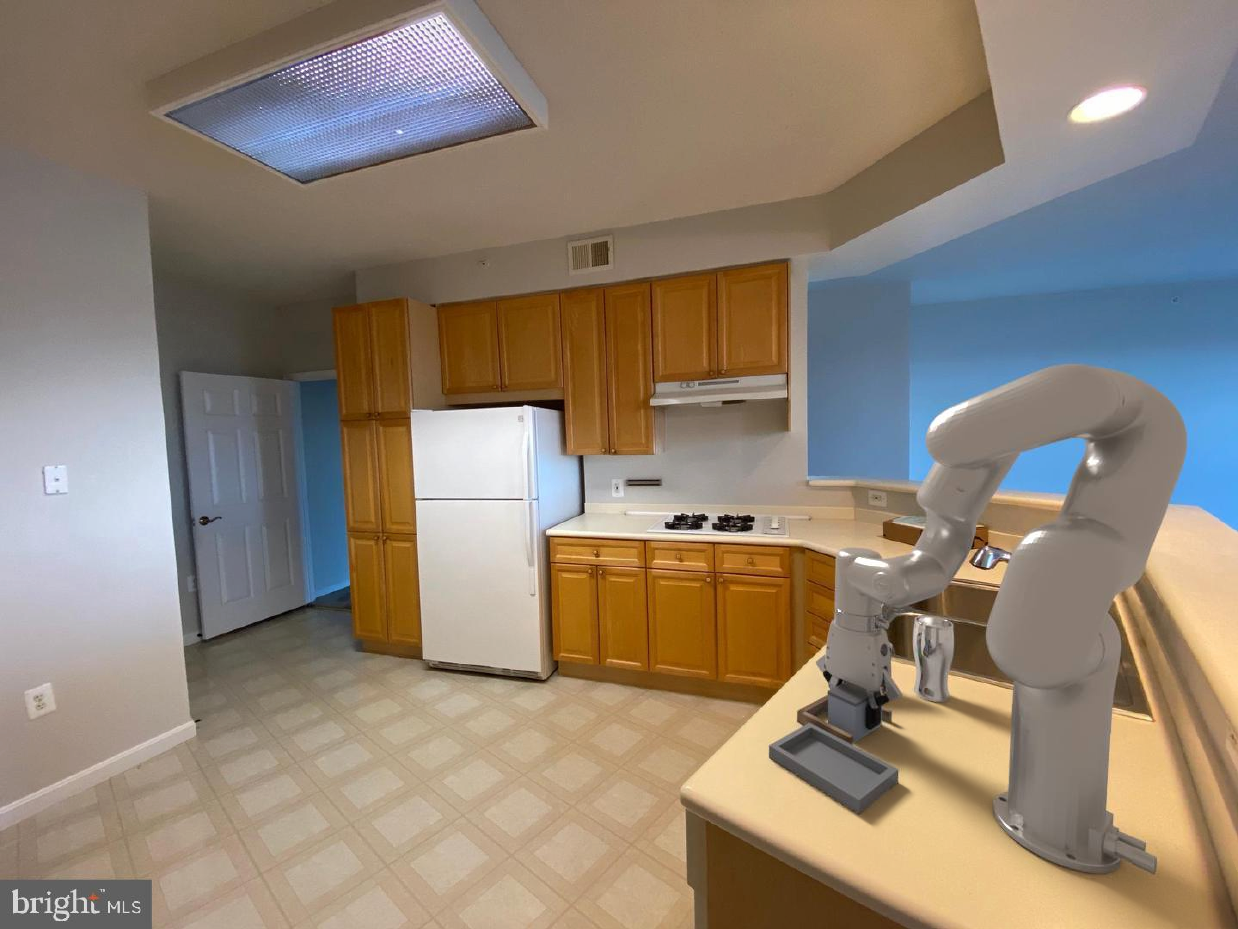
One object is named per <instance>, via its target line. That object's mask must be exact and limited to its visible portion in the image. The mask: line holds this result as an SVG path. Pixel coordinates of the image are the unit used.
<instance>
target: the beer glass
mask: <svg viewBox="0 0 1238 929" xmlns="http://www.w3.org/2000/svg"><path fill="white" fill-rule="evenodd" d="M954 635H955V634H954V623H953V622H951V621H950V620H948V619H945V618H942V617H938V616H931V615H918V616H915V617H914V624H913V631H912V650H913V657H914V662H915V669H916V670H915V671H916V675H915V682H914V686H913V692H914V694H915V693H916V694H917V695H918V696H917V695H916V694H915V695H916V696H917V697H919V696H920V697H919V698H920V699H923V700H925V699H927V700H926V701H928V700H929V702H932V701H933V703H939V702H942V703H946V702H949V700H950V692H949V686H948V681H949V680H948V678H949V673H950V671H951V666H952V662H953V658H954V651H955V636H954Z"/></svg>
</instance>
